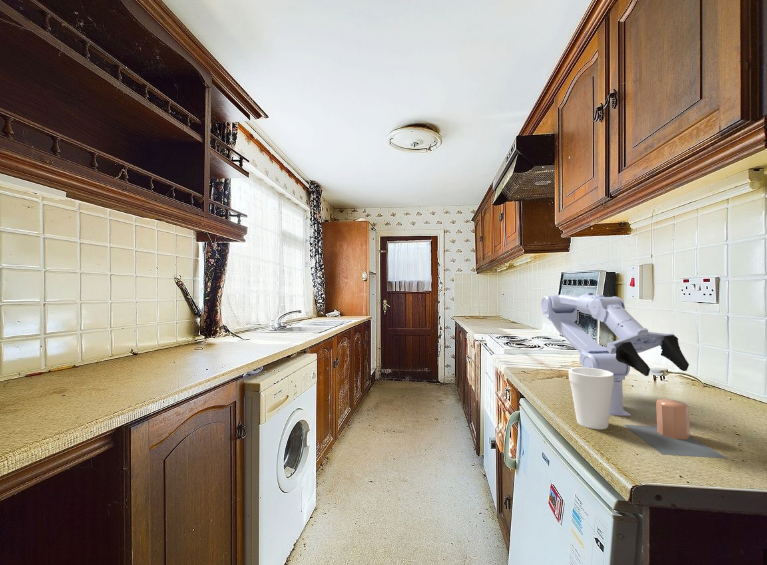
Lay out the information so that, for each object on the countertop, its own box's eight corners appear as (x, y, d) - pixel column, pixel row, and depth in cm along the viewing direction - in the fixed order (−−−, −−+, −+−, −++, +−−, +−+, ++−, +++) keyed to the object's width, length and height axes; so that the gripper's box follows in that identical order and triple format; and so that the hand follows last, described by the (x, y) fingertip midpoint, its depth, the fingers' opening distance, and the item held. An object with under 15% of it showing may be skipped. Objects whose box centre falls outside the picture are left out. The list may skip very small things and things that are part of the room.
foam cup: (564, 425, 82) (562, 372, 83) (576, 415, 89) (574, 365, 89) (610, 437, 76) (608, 378, 76) (619, 425, 82) (617, 371, 82)
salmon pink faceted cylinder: (653, 428, 79) (651, 398, 79) (678, 430, 78) (677, 399, 78) (667, 438, 73) (666, 406, 74) (695, 440, 72) (693, 407, 73)
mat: (623, 426, 81) (623, 424, 81) (675, 428, 79) (675, 426, 79) (662, 456, 67) (662, 454, 67) (727, 460, 65) (727, 458, 65)
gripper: (598, 321, 82) (634, 361, 70) (662, 311, 81) (709, 351, 69) (595, 343, 86) (628, 384, 74) (655, 334, 84) (699, 375, 73)
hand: (666, 370), depth 72 cm, fingers open, 7 cm apart
